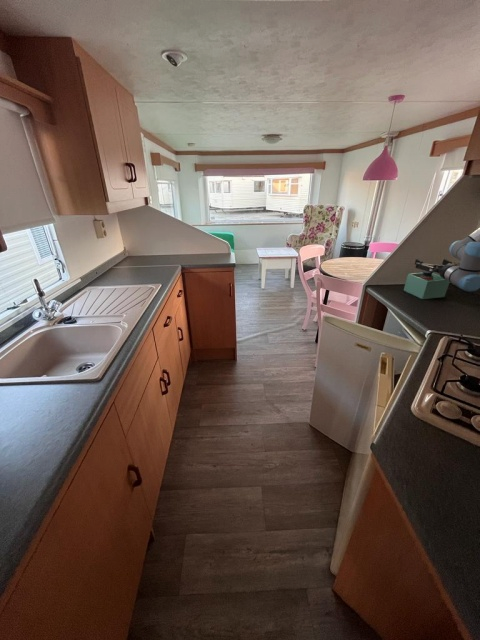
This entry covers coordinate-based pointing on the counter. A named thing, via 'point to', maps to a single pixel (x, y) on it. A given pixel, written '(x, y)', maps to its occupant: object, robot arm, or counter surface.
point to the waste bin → (426, 286)
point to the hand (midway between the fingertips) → (429, 261)
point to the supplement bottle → (427, 276)
